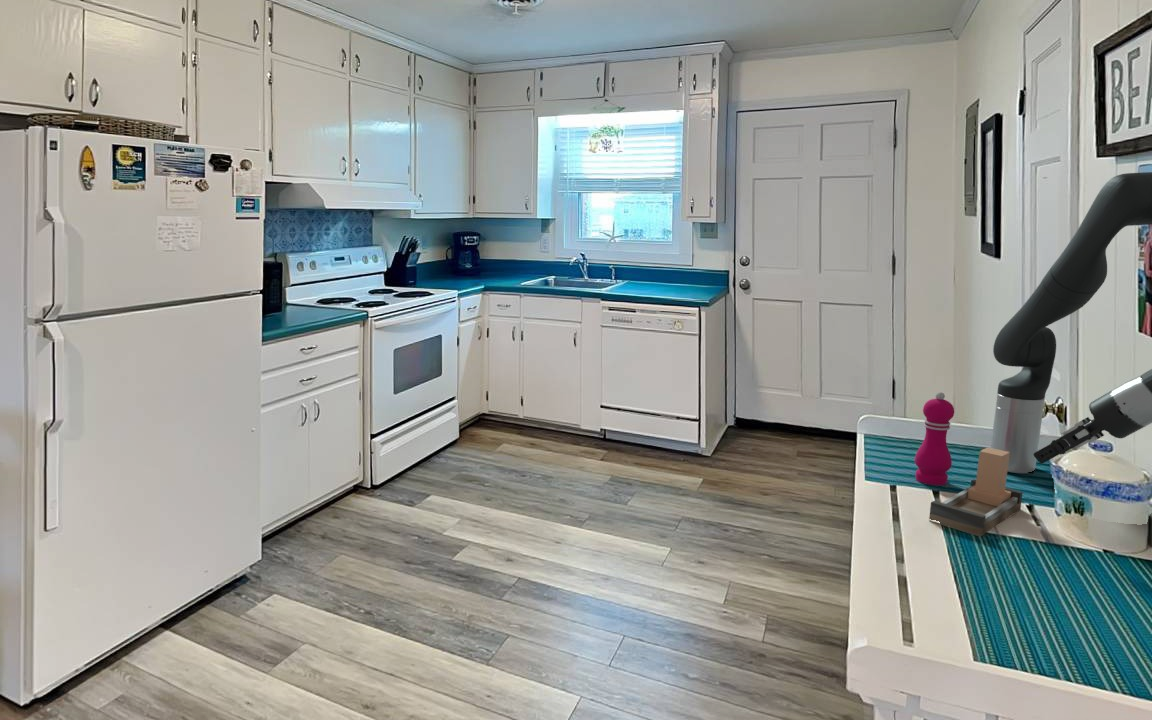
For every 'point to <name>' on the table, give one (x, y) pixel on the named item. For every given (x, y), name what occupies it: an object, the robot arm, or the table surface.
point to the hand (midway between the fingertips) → (1045, 454)
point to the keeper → (991, 478)
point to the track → (974, 512)
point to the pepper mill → (935, 442)
